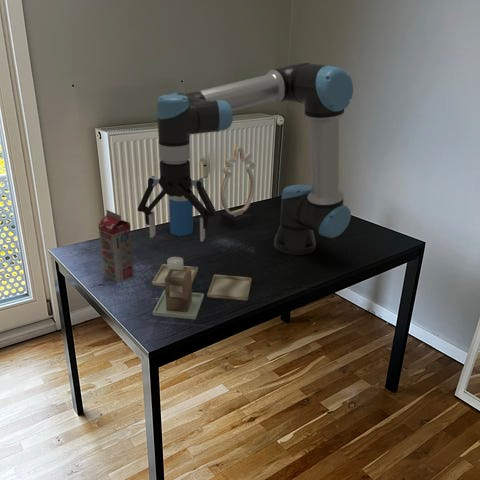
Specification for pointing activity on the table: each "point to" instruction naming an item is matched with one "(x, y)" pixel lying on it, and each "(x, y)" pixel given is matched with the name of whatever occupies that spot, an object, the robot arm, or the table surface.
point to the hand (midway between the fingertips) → (177, 237)
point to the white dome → (175, 263)
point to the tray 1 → (163, 273)
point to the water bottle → (180, 215)
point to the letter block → (178, 290)
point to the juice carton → (116, 247)
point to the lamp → (239, 216)
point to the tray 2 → (191, 314)
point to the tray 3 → (229, 287)
